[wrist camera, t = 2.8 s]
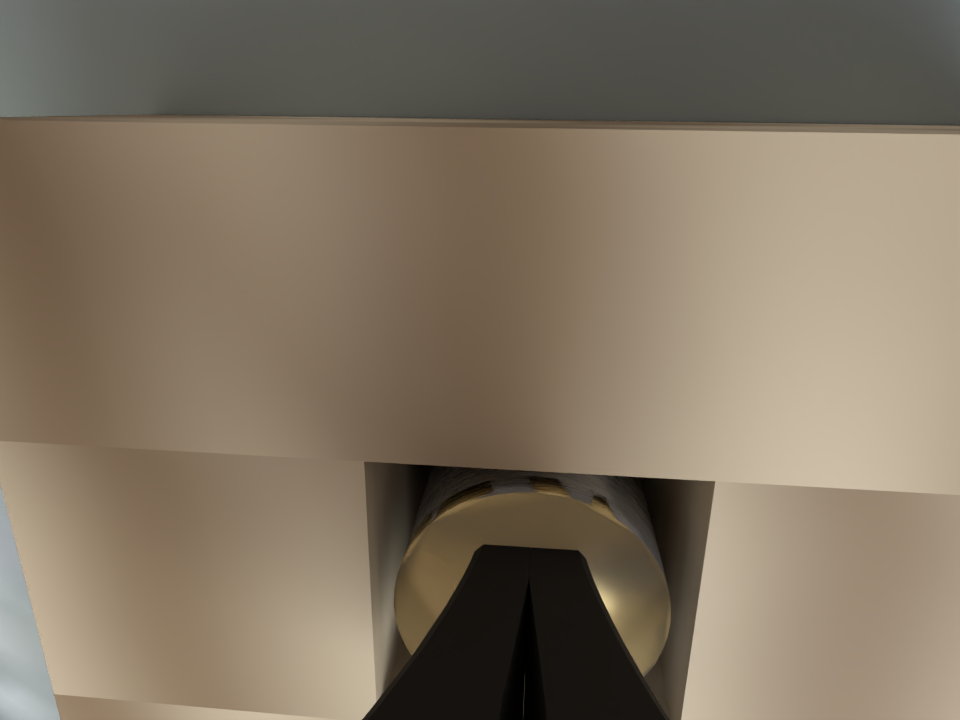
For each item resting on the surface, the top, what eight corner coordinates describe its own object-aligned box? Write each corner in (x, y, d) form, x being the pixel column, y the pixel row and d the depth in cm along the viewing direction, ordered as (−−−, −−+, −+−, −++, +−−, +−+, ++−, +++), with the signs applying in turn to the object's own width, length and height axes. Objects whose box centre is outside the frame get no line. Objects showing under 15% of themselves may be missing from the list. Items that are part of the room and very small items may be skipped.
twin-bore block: (991, 125, 11) (1313, 139, 6) (781, 970, 18) (861, 1266, 14) (152, 114, 12) (-93, 118, 8) (264, 910, 19) (174, 1165, 15)
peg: (640, 368, 13) (686, 501, 8) (624, 539, 14) (656, 730, 10) (441, 360, 13) (389, 483, 9) (443, 527, 14) (397, 707, 10)
